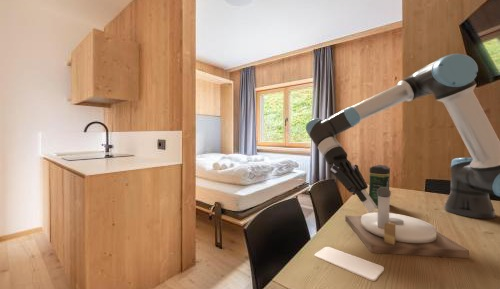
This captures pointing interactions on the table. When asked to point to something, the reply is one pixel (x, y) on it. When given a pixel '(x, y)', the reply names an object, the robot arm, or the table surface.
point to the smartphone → (350, 263)
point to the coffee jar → (378, 180)
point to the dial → (397, 222)
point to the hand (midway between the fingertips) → (373, 209)
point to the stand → (389, 245)
